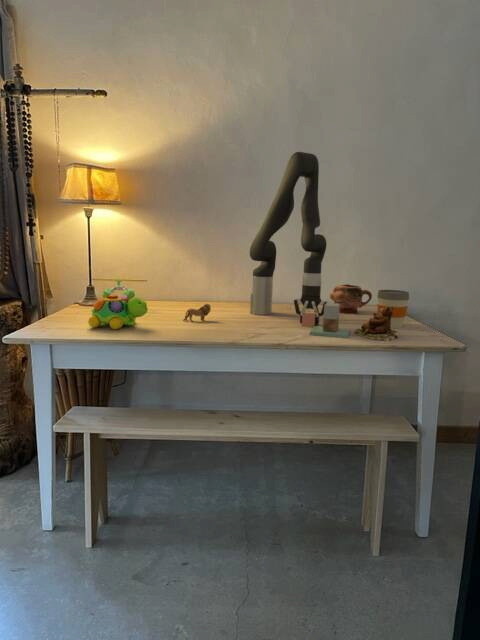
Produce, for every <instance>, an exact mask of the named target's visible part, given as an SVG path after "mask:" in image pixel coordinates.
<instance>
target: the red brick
mask: <svg viewBox="0 0 480 640" xmlns="http://www.w3.org/2000/svg"><path fill="white" fill-rule="evenodd" d="M315 317H316V315H315V312H306V311H305V313H304V314H303V315H302V325H301V327H303V328H304V327H305V328H313V327H314V326H315Z"/></svg>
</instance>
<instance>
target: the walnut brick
mask: <svg viewBox="0 0 480 640" xmlns="http://www.w3.org/2000/svg"><path fill="white" fill-rule="evenodd" d="M339 321H340V316H339V317H338V319H325V318H324V317H323V322H322V324H323V325H322V327H323V331H325V332H337V330H338V328H339V324H340V323H339Z"/></svg>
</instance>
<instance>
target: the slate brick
mask: <svg viewBox="0 0 480 640" xmlns="http://www.w3.org/2000/svg"><path fill="white" fill-rule="evenodd" d="M339 309H340V304H336V303H335V302H328V303H326V304H325V305H324V315H323V319H324V318H325V319H338V317H339V318H340V313H339Z"/></svg>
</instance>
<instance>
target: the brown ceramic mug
mask: <svg viewBox="0 0 480 640" xmlns="http://www.w3.org/2000/svg"><path fill="white" fill-rule="evenodd" d="M364 295H367V296H368V299H367V300H366V301H363V296H364ZM372 297H373V295H372V292H371V291H370V290H367V289H362V287H361V286H358V285H353V284H352V285H351V284H348V283H347V284H340V285H339V284H338V285H335V286H334V288H333V290H332V292H331V293H330V294H329V298H330V300H332V301H333V303H336V304H340V309H339V314H346V315H347V314H348V315H349V314H351V315H352V314H353V315H356V314H357V313H358V308H359V309H361V308H362V307H364V306H366V305H367V304H369V302H370V301H371V300H372V299H373V298H372Z"/></svg>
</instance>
